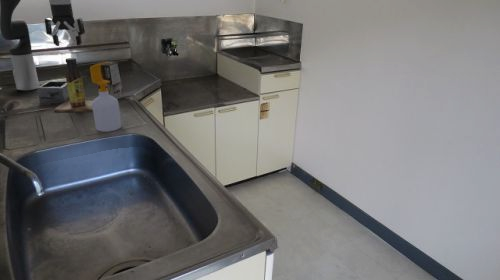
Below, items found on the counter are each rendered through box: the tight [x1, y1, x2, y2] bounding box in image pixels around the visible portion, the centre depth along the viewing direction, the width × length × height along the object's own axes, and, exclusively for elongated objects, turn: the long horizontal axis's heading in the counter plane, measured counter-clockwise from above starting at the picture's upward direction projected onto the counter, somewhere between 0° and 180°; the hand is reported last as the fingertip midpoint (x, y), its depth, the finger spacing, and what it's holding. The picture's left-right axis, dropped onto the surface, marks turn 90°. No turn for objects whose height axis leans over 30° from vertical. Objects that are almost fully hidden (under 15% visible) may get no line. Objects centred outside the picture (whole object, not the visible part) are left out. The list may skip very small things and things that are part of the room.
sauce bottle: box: [65, 57, 86, 107], centre depth 161 cm, size 7×6×20 cm
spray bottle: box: [89, 61, 122, 133], centre depth 139 cm, size 9×9×25 cm
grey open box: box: [36, 80, 69, 104], centre depth 173 cm, size 11×16×7 cm
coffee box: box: [94, 60, 125, 100], centre depth 176 cm, size 9×6×16 cm
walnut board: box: [54, 100, 93, 113], centre depth 165 cm, size 16×12×1 cm
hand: (68, 45), depth 155 cm, fingers open, 8 cm apart
